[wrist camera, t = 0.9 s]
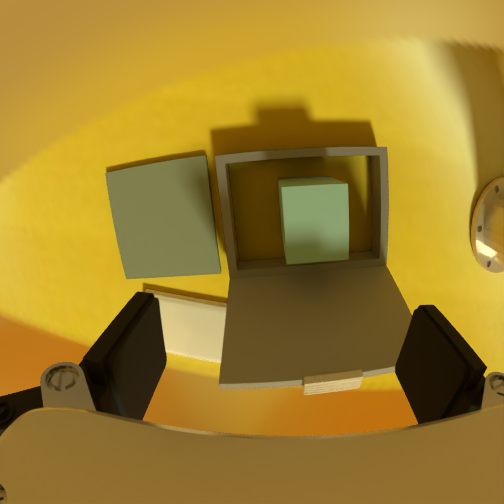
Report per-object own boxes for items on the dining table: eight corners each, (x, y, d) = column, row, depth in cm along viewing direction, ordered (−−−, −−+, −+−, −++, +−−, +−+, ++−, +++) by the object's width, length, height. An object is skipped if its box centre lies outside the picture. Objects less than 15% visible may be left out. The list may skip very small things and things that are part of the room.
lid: (435, 361, 17) (428, 373, 18) (386, 262, 27) (384, 275, 28) (216, 388, 18) (221, 398, 19) (229, 275, 28) (231, 288, 29)
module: (328, 175, 27) (347, 183, 21) (330, 235, 29) (348, 259, 23) (277, 179, 28) (281, 187, 21) (281, 238, 30) (286, 264, 23)
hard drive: (254, 312, 31) (143, 292, 31) (243, 368, 34) (145, 349, 34) (254, 304, 33) (148, 286, 33) (244, 360, 36) (149, 342, 35)
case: (377, 147, 26) (386, 146, 24) (377, 257, 30) (386, 265, 27) (219, 155, 27) (214, 155, 25) (232, 268, 31) (229, 278, 28)
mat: (206, 155, 27) (205, 155, 27) (221, 271, 31) (220, 273, 31) (107, 172, 28) (105, 172, 27) (128, 277, 32) (126, 279, 31)
